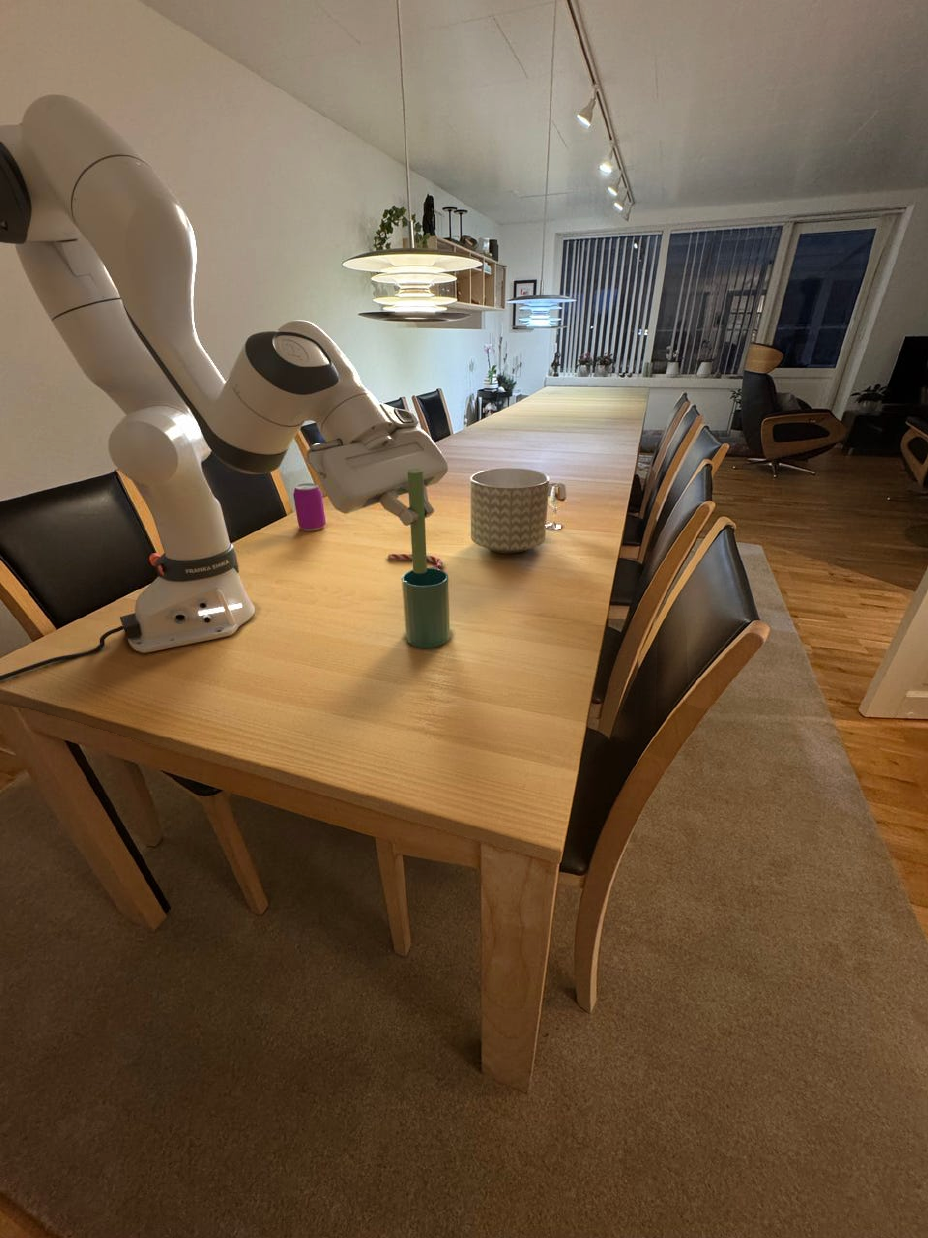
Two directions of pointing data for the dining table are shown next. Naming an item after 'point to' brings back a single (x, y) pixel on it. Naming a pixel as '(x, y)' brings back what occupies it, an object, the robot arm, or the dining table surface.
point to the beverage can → (309, 507)
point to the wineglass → (556, 500)
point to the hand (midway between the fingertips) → (420, 518)
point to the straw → (419, 525)
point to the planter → (509, 509)
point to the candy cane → (409, 556)
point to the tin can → (426, 608)
